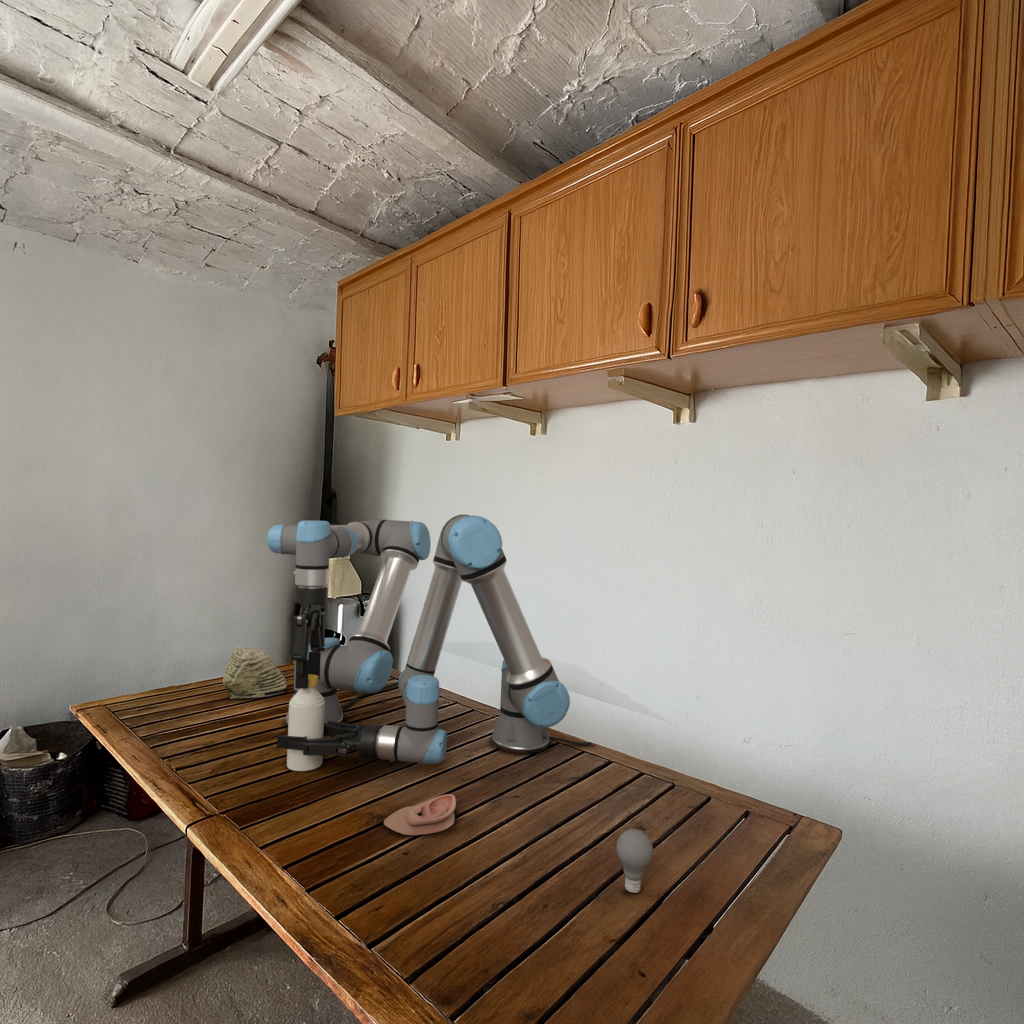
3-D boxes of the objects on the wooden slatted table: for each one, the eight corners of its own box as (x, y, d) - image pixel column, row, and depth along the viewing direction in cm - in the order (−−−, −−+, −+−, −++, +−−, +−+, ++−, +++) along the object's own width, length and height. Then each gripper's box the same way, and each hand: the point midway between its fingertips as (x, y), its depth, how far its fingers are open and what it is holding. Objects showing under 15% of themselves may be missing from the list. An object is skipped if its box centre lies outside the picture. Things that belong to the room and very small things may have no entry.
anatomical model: (377, 810, 121) (400, 784, 132) (376, 830, 121) (399, 803, 132) (444, 820, 118) (461, 792, 129) (443, 841, 118) (460, 812, 129)
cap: (316, 687, 147) (316, 679, 147) (295, 687, 147) (296, 679, 147) (319, 681, 152) (319, 674, 152) (299, 681, 151) (299, 674, 151)
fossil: (218, 695, 195) (220, 647, 195) (278, 685, 208) (279, 640, 207) (228, 703, 189) (230, 653, 188) (289, 692, 201) (290, 645, 201)
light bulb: (610, 879, 108) (613, 822, 108) (644, 879, 109) (647, 822, 109) (619, 902, 102) (622, 840, 102) (655, 901, 103) (658, 840, 103)
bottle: (279, 766, 148) (282, 680, 147) (303, 754, 155) (306, 672, 154) (306, 773, 144) (309, 686, 144) (329, 761, 152) (332, 677, 151)
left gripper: (311, 580, 159) (308, 671, 159) (277, 591, 139) (274, 695, 140) (341, 581, 158) (337, 673, 159) (311, 593, 139) (307, 697, 139)
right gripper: (365, 777, 138) (264, 768, 140) (391, 741, 158) (304, 734, 160) (366, 743, 137) (265, 735, 139) (393, 711, 158) (305, 704, 160)
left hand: (307, 683), depth 149 cm, fingers open, 7 cm apart
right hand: (286, 734), depth 150 cm, fingers closed on bottle, 8 cm apart
